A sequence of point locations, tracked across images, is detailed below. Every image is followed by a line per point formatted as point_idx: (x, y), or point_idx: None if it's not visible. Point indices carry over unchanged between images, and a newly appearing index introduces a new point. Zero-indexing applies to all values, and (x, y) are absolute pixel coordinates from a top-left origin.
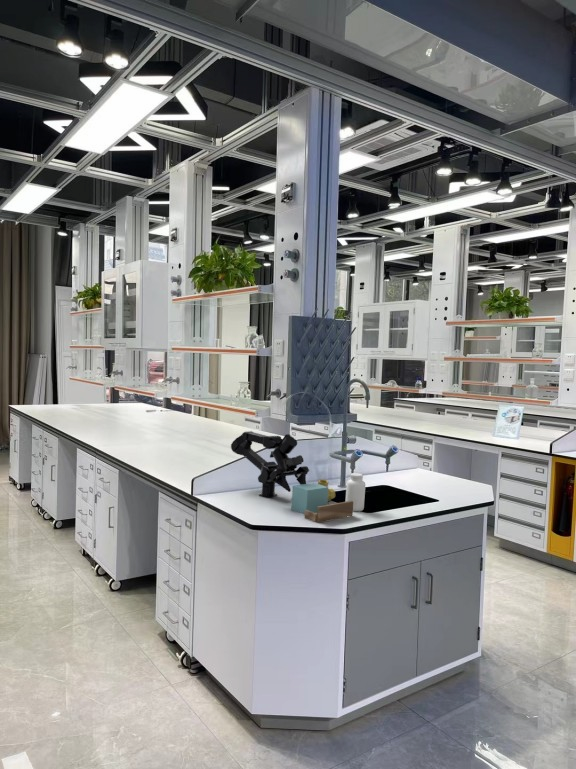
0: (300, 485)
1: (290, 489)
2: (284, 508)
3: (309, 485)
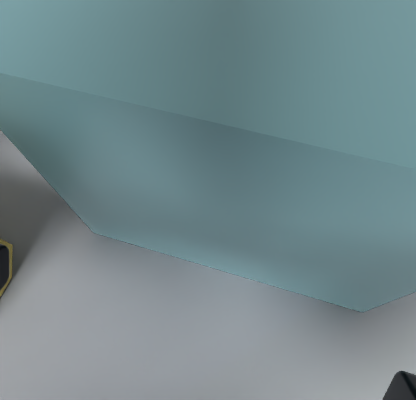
0: (394, 103)
1: (412, 383)
2: None
3: (227, 8)
